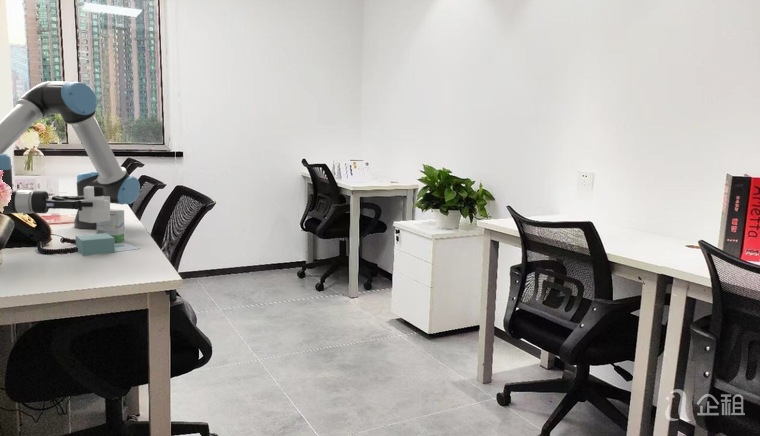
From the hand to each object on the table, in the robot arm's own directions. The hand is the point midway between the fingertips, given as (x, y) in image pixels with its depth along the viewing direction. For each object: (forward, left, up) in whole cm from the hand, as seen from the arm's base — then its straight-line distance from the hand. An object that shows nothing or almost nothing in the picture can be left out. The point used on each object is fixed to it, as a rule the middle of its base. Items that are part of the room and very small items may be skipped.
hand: (107, 202), depth 193 cm
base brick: (-2, -4, -17) cm, 18 cm away
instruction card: (-4, +5, -17) cm, 18 cm away
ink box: (-18, +5, -17) cm, 25 cm away
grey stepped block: (-2, -4, -7) cm, 8 cm away
